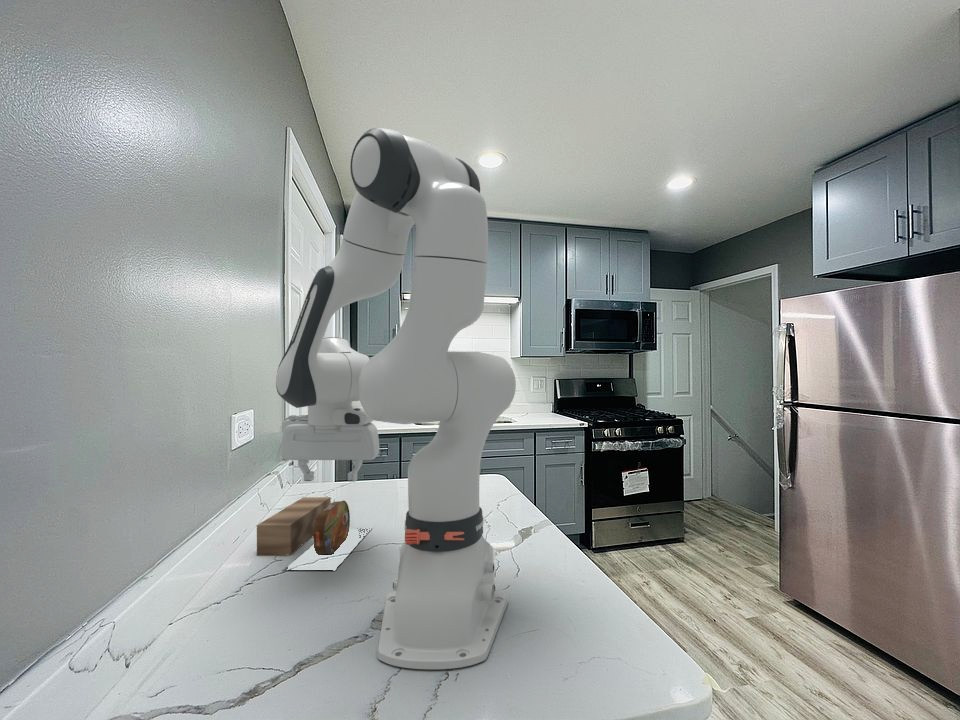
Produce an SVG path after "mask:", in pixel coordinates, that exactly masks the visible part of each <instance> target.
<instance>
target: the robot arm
mask: <svg viewBox="0 0 960 720" xmlns="http://www.w3.org/2000/svg"><path fill="white" fill-rule="evenodd" d="M350 158H351V159H350V168H349V169H350V175H351V180H352V182H353V186H354V187H355V190H356V192H355V193H354V196H353V198H352V202H351V204H350V208H349V210H348V214H347V217H346V222H345V224H344V230H343V235H342V238H341V239H342V240H341V244H340V246H339V249H338V251H337V253H336V255H335V257H334V258H333V259H332V261H331V262H330V263H329V264H328V265H326V266H323V267H321V268H320V269H318V270H317V272H316V274H315V276H314V277H313V279H312V282H311V284H310V286H309V288H308V291H307V294H306V296H305V299H304V301H303V305H302V308H301V311H300V313H299V317H298V319H297V323H296V324H295V327H294V330H293V333H292V336H291V337H290V338H291V339H290V342H289V345H288V346H287V349H286V351H285V353H284V354H283V356H282V358H281V361H280V362H279V364H278V368H277V371H276V377H275V387H276V392H277V394H278V395H279V396H280V398H282V399H283V401H285V402H286V403H288V404H289V405H291V406H292V407H294V408H296V409H299V408H307V414H306V415H305V414H302V415H293V414H292V415H289V416H288V417H286V418H284V420H283V421H282V423H281V430H282V437H281V444H280V456H281V457H282V459H283V460H285V461H297V466H298V468H299V469H300V471H301V472H302V473H303V482H313V481H314V479H315V476H314V475H315V471H314V470H311V469H310V468H309V465H308V464H309V463H310V461H352V465H353V466H354V467H353V470H352V471H349V472H348V473H347V482H354V483H355V482H357V481H358V472H359V470H360V469H361V467H362V465H363V463H364V461H373V460H374V459H376V458H377V457H378V456H379V454H380V438H379V431H378V429H377V426H376V425H375V424H374V423H373V422H374V421H376V422H383V423H390V424H396V425H397V424H399V425H411V424H423V423H437V422H439V424H438V429H437V431H436V433H435V435H434V436H433V438H432V440H431V441H430V442H429V443H428V444H426V445H425V446H423V447H422V448H420V449H419V450H418V451H417V452H415V454H414V455H413V456H412V457H411V459H410V461H409V464H408V467H407V500H408V501H407V502H408V504H407V505H408V510H407V512H406V514H405V520H404V542H403V543H402V544H401V545H399V548H398V549H399V563H398V564H399V565H398V573H397V579H396V580H395V579H394V581H393V583H392V589H393V591H391V592H390V593H388V594H387V595H386V597H385V603H384V608H383V615H382V619H381V627H380V632H379V633H380V634H379V639H378V646H377V652H376V655H377V659H379V660H380V661H381V662H383V663H386V664H388V665H390V666H394V667H400V668H403V669H405V668H406V669H412V670H450V669H452V670H453V669H459V668H465V667H469V666H473V665H476V664H479V663H483V662H484V661H486V660H487V658H488V656H489V654H490V651H491V650H492V646H493V644H494V641H495V638H496V635H497V632H498V630H499V627H500V624H501V622H502V620H503V616H504V615H505V611H506V609H507V606H508V604H509V603H508V596H507V594H506V593H504V592H502V591H499V590H496V583H495V581H496V579H495V578H496V577H495V561H494V560H495V559H494V547H493V545H491V544H490V543H489V542H488V541H487V540H486V539H485V537H484V535H483V534H484V523H485V521H484V515H483V509H482V507H481V506H480V480H481V479H480V474H481V473H480V472H481V462H482V454H483V449H484V447H485V443H486V440H487V439H488V436H489V434H490V432H491V430H492V428H493V426H494V425H495V422H496V421H497V420H498V419H499V417H500V416H501V415H502V414H503V413H504V412H505V411H506V410H507V409H509V407H510V405H512V402H513V399H514V398H515V395H516V390H517V389H516V388H517V381H516V376H515V373H514V370H513V368H512V366H511V365H510V363H509V362H508V361H507V360H506V359H505V358H503V357H501V356H497V355H493V354H489V353H487V352H481V351H449V348H450V345H451V343H452V341H453V340H454V338H455V337H456V335H457V334H458V333H459V332H460V331H462V330H464V329H466V328H468V327H469V326H472V325H473V324H474V323H476V322H477V321H478V320H479V318H480V317H481V316H482V313H483V310H484V304H485V296H486V295H485V294H486V293H485V292H486V281H487V272H488V259H489V227H488V226H489V224H488V212H487V211H488V210H487V204H486V201H485V199H484V197H483V196H482V195H483V194H481V183H480V179H479V176H478V175H477V173H476V172H475V171H474V169H473V168H472V167H471V166H470V165H469V164H468V163H466V162H465V161H464V160H462V159H461V158H458V157H454V156H452V155H450V154H449V153H447V152H445V151H443V150H442V149H440V148H438V147H436V146H435V145H434V144H432V143H431V142H430V143H429V142H427V141H424V140H422V139H419V138H416V137H412V136H408V135H405V134H402V133H401V132H400V131H397V130H396V129H395V130H394V129H389V128H383V127H373V128H369V129H368V130H367V131H365V132H364V133H363V134H362V135H361V136H360V137H359V139H358V140H357V142H355V145H354V148H353V150H352V153H351V157H350ZM414 225H415V243H414V252H413V253H414V254H413V265H412V266H413V269H412V278H411V279H412V281H411V289H410V295H409V301H408V306H407V307H408V308H407V311H406V314H405V317H404V319H403V322H402V324H401V326H400V327H399V330H398V331H397V332H396V334H395V335H394V337H393V338H392V339H391V341H390V342H389V343H387V345H386V346H385V347H383V349H382V350H380V351H379V352H377V353H376V354H374V355H373V356H371V357H370V356H369V355H368V354H363V353H361V352H359V351H356V350H355V349H353V348H352V347H351V345H350V342H349V341H348V340H347V339H345V338H342V337H338V336H337V337H336V336H334V337H333V336H332V337H325V334H326V331H327V329H328V326H329V323H330V320H331V319H332V317H333V316H334V314H336V313H337V312H338V311H339V310H340V309H342V308H344V307H345V306H348V305H351V304H353V303H355V302H359V301H362V300H366V299H370V298H374V297H376V296H379V295H381V294H383V293H385V292H387V291H388V290H389V289H391V288H392V287H393V286H394V285H395V284H396V283H397V281H398V279H399V278H400V274H401V273H402V269H403V265H404V260H405V255H406V252H407V246H408V240H409V236H410V233H411V229H412V228H413V227H414ZM353 402H359V403H360V404H361V407H362V408H361V407H358V406H354V405H353Z"/></svg>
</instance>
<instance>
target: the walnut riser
mask: <svg viewBox="0 0 960 720" xmlns="http://www.w3.org/2000/svg"><path fill="white" fill-rule="evenodd" d="M331 498H332V497H330V496H325V497H324V496H321V497H317V496H316V497H313V496H312V497H310V496H309V497H305V496H304V497H302V498H301V497H300V499H297V500H296V501H295V502H293V503H291V504H290V505H288V506H286V507H284V508H283V509H281V510H279V511H278V512H276V513H275V514H273V515H271V516H270V517H268V518H267V519H265V520H263V521H261V522H260V523H258V524H257V525H256V556H287V555H286V554H289V555H288V556H292V555H293V554H294V553H295V552H296V551H298V550H299V549H300V548H301V547H302V546H303V545H302V544H304V543H305V542H306V541H307V540H308V539H310V538H311V537H312V536H313V537H314V534H313V527H314V522H315V519H316V517H317V515H318V514H319V513H320V512H322V511H323V510H324V509H325V508H326V507H327V506H329V505H330V504H331V503H332V501H331ZM313 537H312V538H313ZM312 538H311V539H312ZM311 539H310V540H311ZM307 542H308V541H307ZM307 542H306V543H307ZM306 543H305V544H306ZM305 544H304V545H305ZM301 545H302V546H301ZM300 546H301V547H300ZM299 547H300V548H299ZM298 548H299V549H298ZM297 549H298V550H297ZM295 550H296V551H295ZM294 551H295V552H294ZM293 552H294V553H293ZM292 553H293V554H292ZM291 554H292V555H291Z"/></svg>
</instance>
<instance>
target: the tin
mask: <svg viewBox="0 0 960 720" xmlns="http://www.w3.org/2000/svg"><path fill="white" fill-rule="evenodd" d="M350 515H351V514H350V507H349V504H348V502H347V501H346V500H341V501H333V502H332V501H331V504H330V505H329V506H327V507H326V508H325V509H324V510H323V511H322V512H320V513H319V514H318V515H317V517H316V519H315V522H314V527H313V534H314V536H313V543H314V548H315V551H316V553H317V554H318V555H332V554H334V552H335V551H336V550H337V549H338V548H339V547H340V545H341V544H342V543H343V542H344V541H345V540H346V538H347V536H348V532H349V528H350V525H351V516H350Z"/></svg>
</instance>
